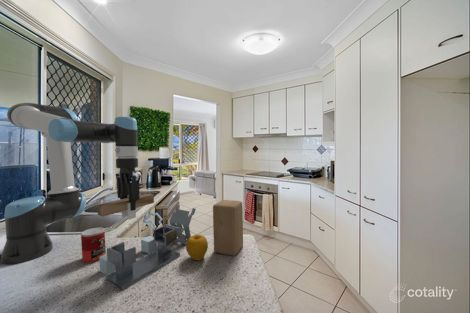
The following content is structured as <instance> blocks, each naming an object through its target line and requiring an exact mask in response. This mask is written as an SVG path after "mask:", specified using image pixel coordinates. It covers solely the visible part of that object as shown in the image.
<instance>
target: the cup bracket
mask: <svg viewBox="0 0 470 313" xmlns="http://www.w3.org/2000/svg"><path fill="white" fill-rule="evenodd" d="M153 237H154V242H156V243H157V250H156V251H154V252H152V253H150V254H146V255H145V256H144V257H141V258H139V259H137V247H136V246H133V247H131V248H129V249H126V250H125V242H120V243H118V244H115V245H113V246H112V245H111V246H110V247H107V248H106V254H107V261H109V262H111V263H113V264H114V265H115V269H116V271H114V272H112V273H110V274H108V275H105V281H107V282H108V283H109V284H111V285H112V286H114V287H115V288H117V289H119V290H120V291H125V290H126V289H128V288H130V287H131V286H133V285H134V284H136V283H138V282H140V281H141V280H142V279H144V278H147V277H148V276H149V275H151V274H152V273H154V272H155V271H157V270H159V269H161V268H163V267H164V266H165V265H167V264H169V263H171V262H172V261H174V260H175V259H178V258H179V257H181V253H180V252H178V251H175V250H172V244H174V243H176V242H175V240H176V239H177V238H178V237H177V229H174V228H171V227H167V226H165V225H162V226H159V227H158V228H155V229H153ZM174 239H175V240H174Z"/></svg>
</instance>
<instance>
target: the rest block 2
mask: <svg viewBox="0 0 470 313" xmlns="http://www.w3.org/2000/svg"><path fill="white" fill-rule="evenodd" d="M140 246H141V247H140V249H141V250H142V251H141V250H140V251H141V252H143V251H144V252H143V253H145V252H146V253H145V254H147V253H148V254H147V255H149V253H150V254H151V252H152V253H153V251H154V252H155V250H156V251H157V250H158V246H157V243H156V242H154V236H152V235H151V236H150V235H148V236H146V237H144V238H141V239H140Z"/></svg>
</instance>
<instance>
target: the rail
mask: <svg viewBox="0 0 470 313" xmlns="http://www.w3.org/2000/svg"><path fill="white" fill-rule="evenodd" d="M127 201H129V198H126V199H121V200H120V199H118V200H117V199H116V200H114V201H108V202H103V203H99V204H97V216H101V217H107V216H110V215H114V214H117V213H122V211H126V210H128V203H127ZM154 203H155V195H154V194H153V193H145V194H140V197H139V200H137V201H136V209H137V208H140V207H143V206H149V205H151V204H154Z"/></svg>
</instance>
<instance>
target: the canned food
mask: <svg viewBox="0 0 470 313" xmlns="http://www.w3.org/2000/svg"><path fill="white" fill-rule="evenodd" d="M80 242H81V243H80V244H81V245H80V246H81V258H82V259H81V260H82V262H83V263H86V264H91V263H95V262H96V263H97V262H99V257H100V256H103V255H105V254H107V249H106V231H105V227H101V226H100V227H93V228H88V229H85V230H83V231H82V232H81V234H80Z"/></svg>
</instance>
